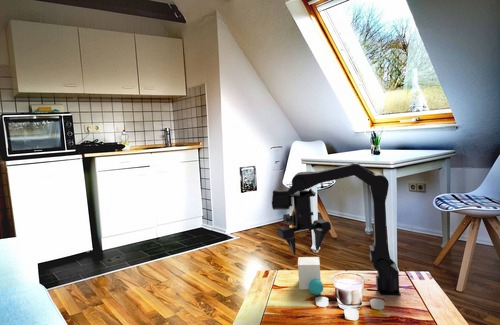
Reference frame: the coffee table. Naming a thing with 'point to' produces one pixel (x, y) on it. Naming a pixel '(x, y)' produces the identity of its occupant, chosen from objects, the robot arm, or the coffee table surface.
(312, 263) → the white upright block
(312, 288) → the ball
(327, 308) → the coffee table surface
